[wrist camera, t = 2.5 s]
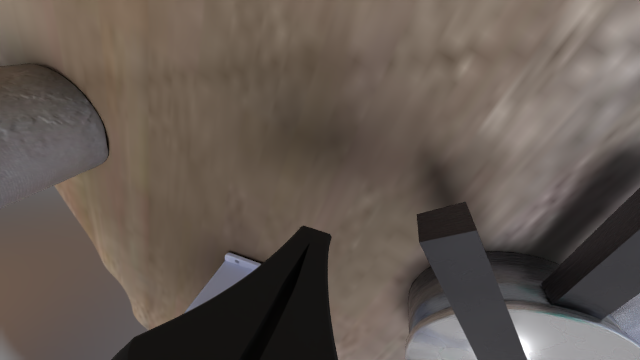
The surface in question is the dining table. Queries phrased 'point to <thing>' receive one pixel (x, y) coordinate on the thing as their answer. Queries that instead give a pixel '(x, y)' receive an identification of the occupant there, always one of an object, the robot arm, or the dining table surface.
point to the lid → (497, 308)
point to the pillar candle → (44, 131)
